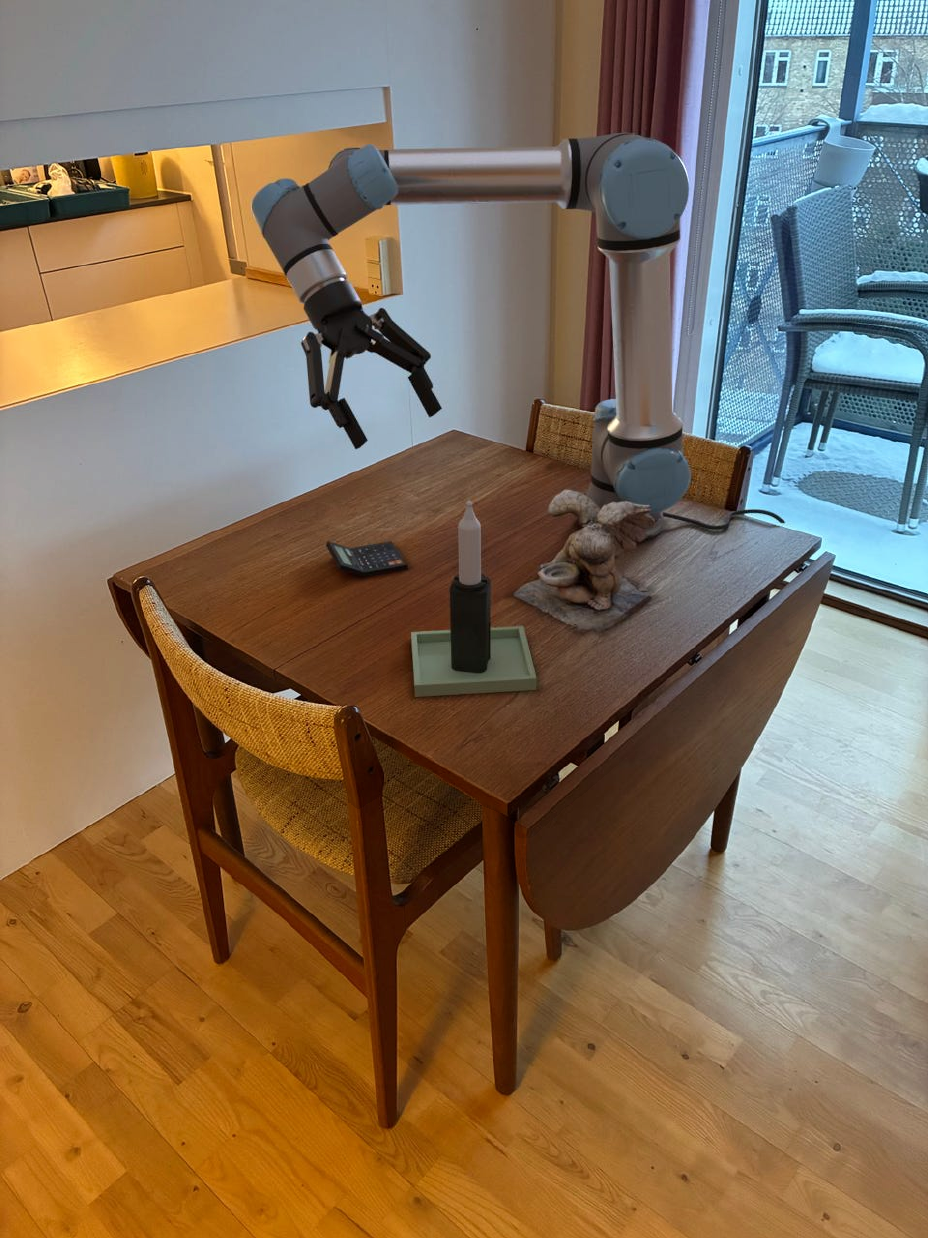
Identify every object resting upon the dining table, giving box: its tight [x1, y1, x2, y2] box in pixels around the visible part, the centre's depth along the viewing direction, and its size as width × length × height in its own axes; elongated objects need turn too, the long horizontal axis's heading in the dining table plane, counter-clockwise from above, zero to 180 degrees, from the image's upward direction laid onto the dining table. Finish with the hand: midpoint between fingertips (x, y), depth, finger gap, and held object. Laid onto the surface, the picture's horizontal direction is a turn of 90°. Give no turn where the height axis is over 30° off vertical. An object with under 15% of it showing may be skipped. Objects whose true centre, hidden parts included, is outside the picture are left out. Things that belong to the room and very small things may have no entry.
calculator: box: [325, 540, 409, 578], centre depth 163 cm, size 9×12×3 cm
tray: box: [410, 625, 538, 698], centre depth 136 cm, size 17×14×2 cm
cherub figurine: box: [512, 489, 655, 634], centre depth 148 cm, size 18×18×18 cm
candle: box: [448, 500, 492, 673], centre depth 130 cm, size 5×5×25 cm
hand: (399, 428), depth 134 cm, fingers open, 13 cm apart
